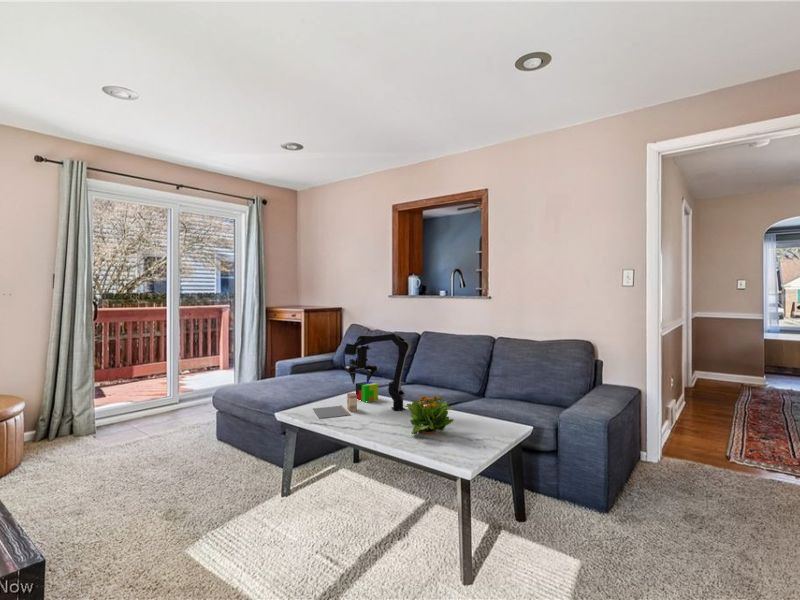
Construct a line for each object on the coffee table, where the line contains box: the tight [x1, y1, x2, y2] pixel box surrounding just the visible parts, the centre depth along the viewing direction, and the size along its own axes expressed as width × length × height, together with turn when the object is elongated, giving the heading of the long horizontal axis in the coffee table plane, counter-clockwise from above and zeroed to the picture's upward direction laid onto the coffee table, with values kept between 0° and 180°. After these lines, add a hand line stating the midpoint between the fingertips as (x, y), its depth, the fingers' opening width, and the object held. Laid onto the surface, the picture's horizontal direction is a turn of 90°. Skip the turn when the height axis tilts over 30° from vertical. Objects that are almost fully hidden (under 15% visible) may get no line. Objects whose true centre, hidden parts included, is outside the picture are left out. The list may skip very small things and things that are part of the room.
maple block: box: [346, 392, 358, 412], centre depth 238 cm, size 6×4×9 cm, turn 22°
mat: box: [312, 404, 352, 419], centre depth 233 cm, size 20×17×1 cm
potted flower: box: [404, 394, 454, 436], centre depth 201 cm, size 25×24×18 cm
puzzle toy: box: [355, 381, 379, 403], centre depth 262 cm, size 10×10×10 cm
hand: (360, 383), depth 245 cm, fingers open, 9 cm apart
